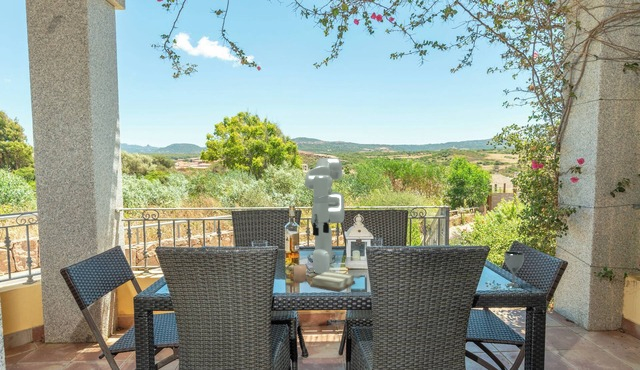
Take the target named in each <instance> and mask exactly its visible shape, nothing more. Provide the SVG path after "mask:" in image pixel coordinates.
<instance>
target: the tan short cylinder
mask: <svg viewBox="0 0 640 370" xmlns="http://www.w3.org/2000/svg"><path fill="white" fill-rule="evenodd" d="M293 282H294V283H305V282H307V265H305V264H295V265H293Z"/></svg>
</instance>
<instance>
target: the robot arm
mask: <svg viewBox="0 0 640 370" xmlns="http://www.w3.org/2000/svg"><path fill="white" fill-rule="evenodd" d="M342 176H343V164H342V161H341V159H340V158H338V157H321V158H319V159H317V161H316V164H315V167H314V168H312V169H309V170H307V172H306V175H305V178H304V185H305V188H306V189H308V190H313V191H312V193H313V194H312V195H313V196H312V197H313V198H312V199H313V200H312V202H313V203H312V207H311V219H310V224H311V227H312V235H313V236H314V250H317V249H322V250H325V251H327V252H328V253H329V255H330V260H332V258H333V257H334V256H335V255H336V253H335V252H333V241H332V239H333V236H332V235H333V233H332V228H331V227H330V224H341V223H343V222H344V220H345V198H344V197H345V196H344V195H343V193H342V192H339V191H337V192H336V191H332V187H333V184H334V183H333V182H334V181H339V180H340V179H342ZM311 260H312V261H313V259H311ZM334 263H335V258H333V260H332V261H330V265H331V264H334Z"/></svg>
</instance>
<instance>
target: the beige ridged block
mask: <svg viewBox="0 0 640 370" xmlns="http://www.w3.org/2000/svg"><path fill="white" fill-rule="evenodd" d="M354 279H355V277H354V274H349V273H344V272H343V273H342V272H336V271H331V270H330V271H327V272H324V273H322V274H318V275H315V276H314V277H312V278H311V283H310V287H312V288H314V289H315V288H317V289H321V290H328V291H333V292H339V293H340V292H342V291H343V290H346V289H347V288H349V287H352V286H353V285H355V284H356V280H354Z"/></svg>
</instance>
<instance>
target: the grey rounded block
mask: <svg viewBox="0 0 640 370" xmlns="http://www.w3.org/2000/svg"><path fill="white" fill-rule="evenodd" d="M312 260H313V262H312V269H313V268H314V270H315V274H318V275H320V274H322V273H324V272H327V271H331V264H330V255H329V253H328V252H327V251H325V250H322V249H317V250H315V249H314V251H313V252H312Z"/></svg>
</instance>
